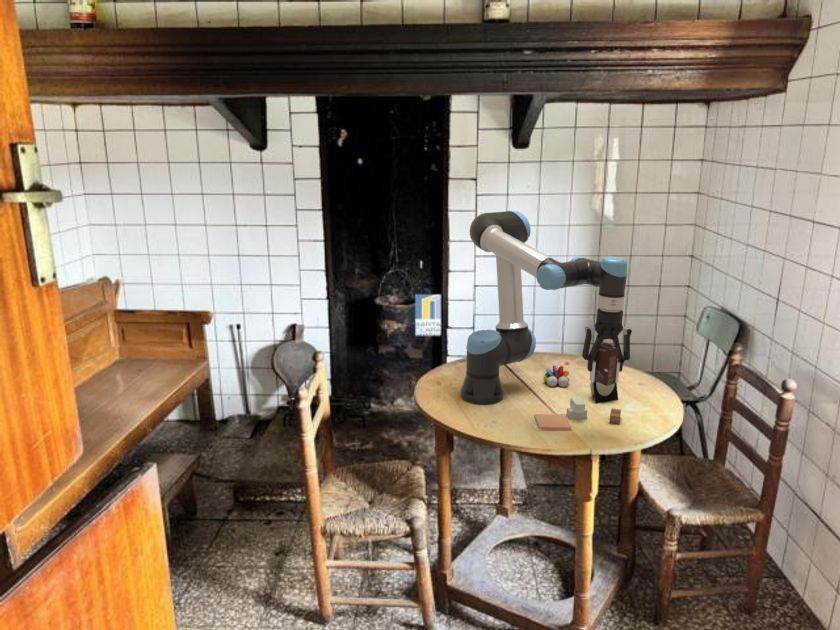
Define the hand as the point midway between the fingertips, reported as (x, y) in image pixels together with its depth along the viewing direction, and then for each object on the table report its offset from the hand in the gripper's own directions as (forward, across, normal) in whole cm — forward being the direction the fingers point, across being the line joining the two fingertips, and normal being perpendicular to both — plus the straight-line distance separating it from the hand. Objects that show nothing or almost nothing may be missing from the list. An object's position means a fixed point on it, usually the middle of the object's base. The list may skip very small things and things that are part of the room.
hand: (603, 380), depth 197 cm
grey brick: (+17, -5, +10) cm, 20 cm away
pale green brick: (+14, -5, +10) cm, 18 cm away
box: (+1, 0, 0) cm, 1 cm away
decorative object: (+17, +7, +27) cm, 33 cm away
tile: (+17, -14, +5) cm, 22 cm away
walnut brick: (+17, +7, +8) cm, 20 cm away
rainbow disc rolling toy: (+17, -6, +40) cm, 44 cm away
